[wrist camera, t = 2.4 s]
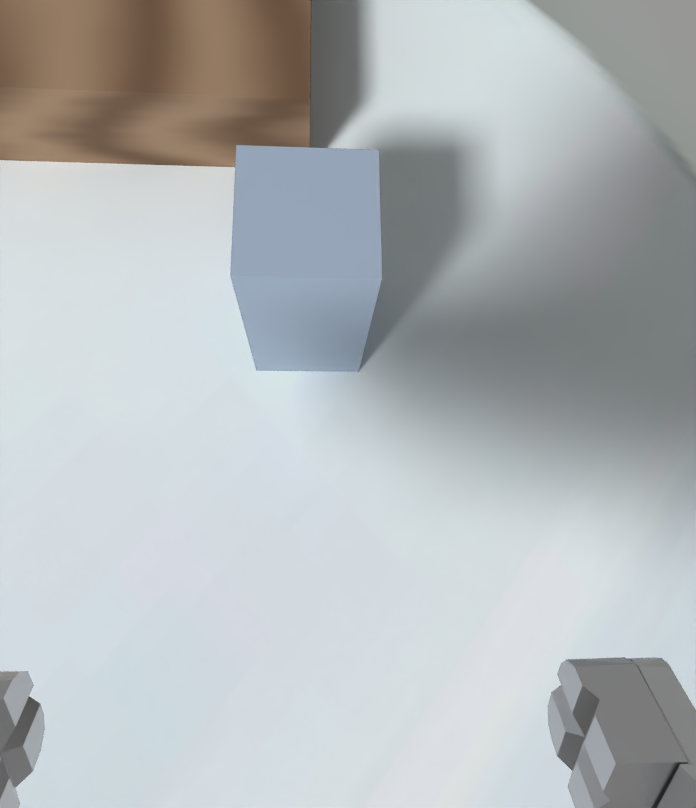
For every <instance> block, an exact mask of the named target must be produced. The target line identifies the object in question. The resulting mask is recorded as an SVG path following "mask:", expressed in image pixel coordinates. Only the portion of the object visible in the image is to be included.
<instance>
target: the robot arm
mask: <svg viewBox="0 0 696 808" xmlns="http://www.w3.org/2000/svg"><path fill="white" fill-rule="evenodd" d="M557 675H558V677H559V680H560V683H561V686H559V687H558V688H557V689H555V690H554V691H553V692H551V696H550V700H549V704H548V725H549V729H550V734H551V739H552V742H553V745H554V748H555V751H556V754H557V756H558V757H559V758H560V759H561V760H562V761H563V762H564V763H565V764H566V765H567V766H568V767H569V768H570V769H571V770H572V773H571V777H570V780H569V783H568V789H569V792H570V795H571V798H572V800H573V803H574V806H575V808H696V710H695V708H694V706H693V705H692V703H691V701H690V700H689V698H688V696H687V695H686V693H685V691H684V690H683V688H682V686H681V684H680V683H679V681H678V679H677V678H676V676H675V674H674V673H673V671H672V669H671V667H670V666H669V664H668V663H667V662H665V661H664V660H663V659H662V658H656V657H652V658H629V659H627V658H625V657H622V658H595V659H568V660H565V661H564V662H562V663H561V665H560V668H559V671H558V674H557ZM33 686H34V685H33V682H32V680H31V678H30V675H29V673H28V671H0V808H19V805H20V802H19V798H18V795H17V791H16V787H17V786H18V785H19V784H20V783H21V782H22V781H23V780H24V779H25V778H26V777H27V776H28V775H29V774H30V773H31V772H32V771H33V770H34V767H35V764H36V761H37V759H38V756H39V753H40V751H41V746H42V740H43V735H44V729H45V727H44V713H43V710H42V707H41V704H40V703H38V702H37V701H35V700H34V699H32V698H31V697H29V695H30V692H31V690H32V688H33Z"/></svg>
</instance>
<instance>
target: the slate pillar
mask: <svg viewBox="0 0 696 808" xmlns="http://www.w3.org/2000/svg"><path fill="white" fill-rule="evenodd" d="M230 276H231V280H232V283H233V287H234V291H235V294H236V298H237V302H238V305H239V309H240V313H241V316H242V320H243V324H244V327H245V331H246V334H247V338H248V342H249V345H250V349H251V353H252V356H253V360H254V364H255V367H256V370H260V371H355V372H359V368H360V364H361V361H362V357H363V353H364V349H365V345H366V341H367V337H368V333H369V329H370V325H371V321H372V317H373V313H374V309H375V305H376V301H377V297H378V293H379V289H380V285H381V281H382V255H381V215H380V176H379V150H369V149H338V148H308V147H278V146H248V145H236V163H235V185H234V207H233V229H232V251H231V274H230Z"/></svg>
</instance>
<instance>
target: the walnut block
mask: <svg viewBox="0 0 696 808" xmlns="http://www.w3.org/2000/svg"><path fill="white" fill-rule="evenodd" d="M310 75H311V0H0V160H18V161H51V162H84V163H117V164H150V165H183V166H217V167H235V163H236V145H248V146H278V147H308V148H310Z"/></svg>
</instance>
